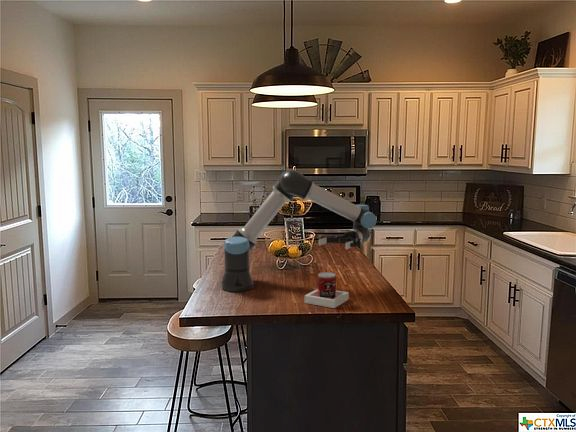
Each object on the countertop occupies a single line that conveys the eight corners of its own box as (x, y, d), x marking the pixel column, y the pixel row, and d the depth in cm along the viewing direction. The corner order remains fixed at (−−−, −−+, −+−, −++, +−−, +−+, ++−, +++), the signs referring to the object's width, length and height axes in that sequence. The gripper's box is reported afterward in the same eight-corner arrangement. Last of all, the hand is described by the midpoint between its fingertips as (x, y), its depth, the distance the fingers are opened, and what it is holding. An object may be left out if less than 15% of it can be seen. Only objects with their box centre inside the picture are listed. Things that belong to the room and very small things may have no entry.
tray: (304, 302, 198) (304, 295, 198) (319, 294, 210) (320, 287, 209) (334, 308, 191) (334, 300, 190) (348, 299, 202) (348, 292, 202)
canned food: (318, 302, 196) (319, 276, 195) (316, 296, 204) (317, 272, 203) (337, 302, 196) (337, 276, 195) (334, 296, 204) (334, 271, 203)
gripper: (375, 248, 222) (357, 256, 204) (329, 242, 235) (308, 249, 217) (376, 233, 221) (358, 239, 203) (329, 227, 234) (308, 233, 216)
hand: (332, 244), depth 210 cm, fingers open, 13 cm apart
